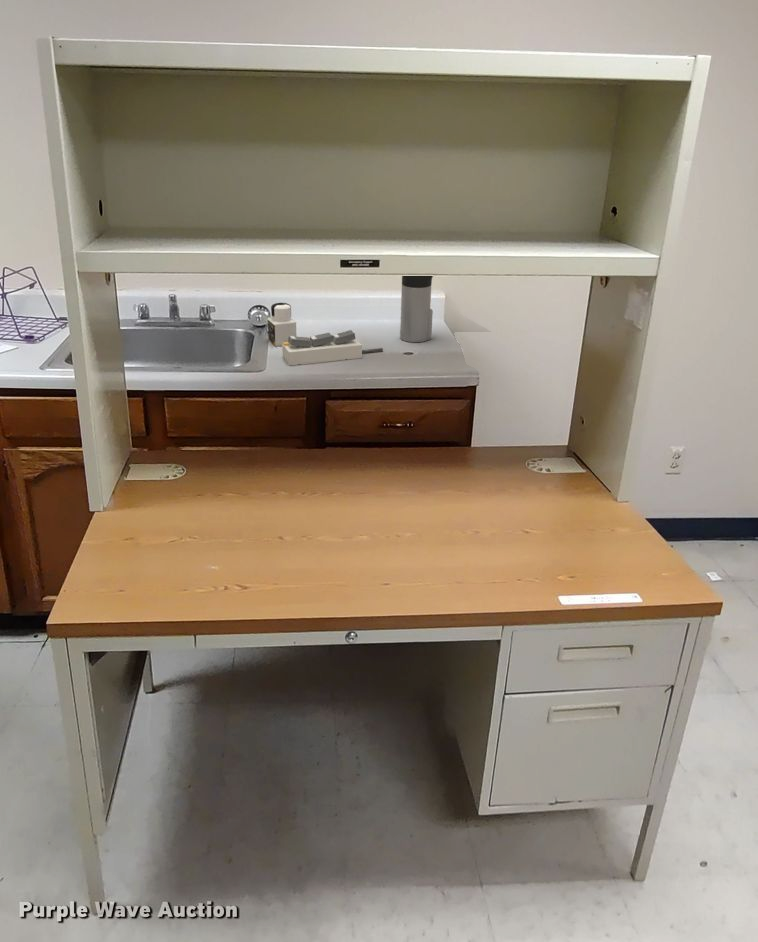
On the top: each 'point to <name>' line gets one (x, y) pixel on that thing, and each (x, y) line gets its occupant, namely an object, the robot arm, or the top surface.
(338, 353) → the power strip
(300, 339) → the rocker
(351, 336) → the rocker
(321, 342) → the rocker middle
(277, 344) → the medicine bottle
